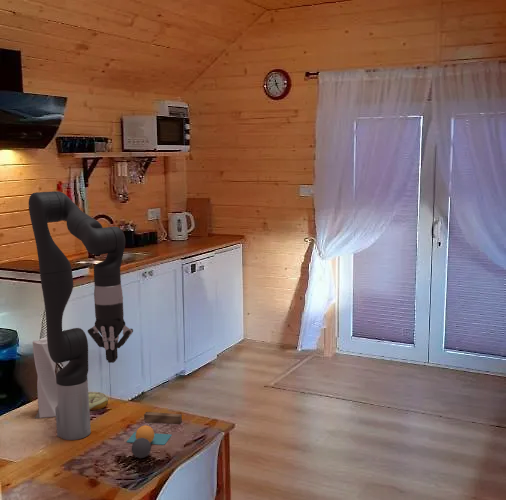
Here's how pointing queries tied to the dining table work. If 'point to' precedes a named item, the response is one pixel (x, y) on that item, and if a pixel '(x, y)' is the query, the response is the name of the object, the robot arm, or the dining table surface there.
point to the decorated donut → (97, 400)
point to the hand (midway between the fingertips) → (112, 361)
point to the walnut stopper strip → (162, 417)
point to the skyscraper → (45, 380)
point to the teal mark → (158, 439)
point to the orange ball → (145, 433)
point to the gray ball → (141, 447)
